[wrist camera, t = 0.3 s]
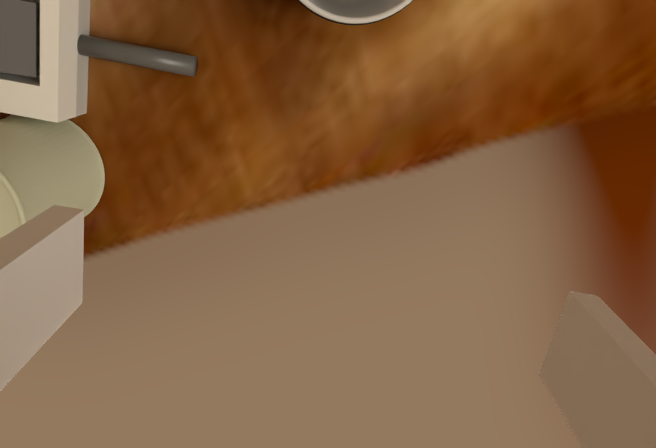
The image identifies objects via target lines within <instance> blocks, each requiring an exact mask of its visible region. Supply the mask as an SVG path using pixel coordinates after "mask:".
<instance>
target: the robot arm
mask: <svg viewBox="0 0 656 448" xmlns="http://www.w3.org/2000/svg"><path fill="white" fill-rule="evenodd" d="M83 240H84V210H83V209H77V208H71V207H65V206H59V205H53V206H52V207H50V208H48V209H47V210H45V211H44V212H42V213H40V214H39V215H37V216H36V217H34V218H32V219H31V220H29V221H28V222H26V223H24V224H23V225H21V226H20V227H18V228H16V229H15V230H13V231H12V232H10V233H8V234H7V235H5V236H4V237H2V238H0V391H1V390H2V389H3V388H4V387H5V386H6V384H8V382H9V381H10V380H11V379H12V378H13V377H14V376H15V375H16V374H17V373H18V371H20V369H21V368H22V367H23V366H24V365H25V364H26V363H27V362H28V361H29V360H30V359H31V358H32V356H33V355H34V354H35V353H36V352H37V351H38V350H39V349H40V348H41V347H42V346H43V345H44V343H45V342H46V341H47V340H48V339H49V338H50V337H51V336H52V335H53V334H54V333H55V332H56V330H57V329H58V328H59V327H60V326H61V325H62V324H63V323H64V322H65V321H66V320H67V318H68V317H69V316H70V315H71V314H72V313H73V312H74V311H75V310H76V309H77V308H78V307H79V305H80V304H81V303H82V291H83V290H82V289H83ZM539 376H540V378H541V379H542V381H543V383H544V384H545V386H546V388H547V390H548V391H549V393H550V395H551V396H552V398H553V399H554V401H555V403H556V404H557V406H558V408H559V410H560V412H561V413H562V415H563V417H564V418H565V420H566V422H567V423H568V425H569V427H570V428H571V430H572V432H573V434H574V435H575V437H576V438H577V440H578V442H579V444H580V445H581V447H582V448H656V355H655V354H654V353H653V352H652V351H651V350H650V349H649V348H648V347H647V346H646V345H645V344H644V343H643V342H642V341H641V339H640V338H639V337H638V336H636V334H635V333H634V332H633V331H632V330H631V329H630V328H629V327H628V326H627V325H626V324H625V323H624V322H623V321H622V320H621V319H620V318H619V317H618V316H617V315H616V314H614V312H613V311H612V310H611V309H610V308H609V307H608V306H607V305H606V304H605V303H604V302H603V301H602V300H601V299H600V298H599V297H598V296H597V295H590V294H585V293H579V292H573V291H570V293H569V296H568V298H567V301H566V303H565V306H564V309H563V311H562V315H561V317H560V319H559V322H558V325H557V327H556V330H555V333H554V335H553V338H552V341H551V343H550V346H549V349H548V352H547V354H546V357H545V360H544V362H543V365H542V368H541V370H540V373H539Z"/></svg>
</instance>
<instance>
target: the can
mask: <svg viewBox="0 0 656 448" xmlns="http://www.w3.org/2000/svg"><path fill="white" fill-rule="evenodd" d="M104 183H105V172H104V166H103V162H102V159H101V156H100V154H99V151H98V149H97V148H96V146H95V144H94V143H93V141H92V140H91V139H90V137H89V136H88V135H87V134H86V133H85V132H84V131H83V130H82V129H81V128H80V127H79V126H77V125H76V124H75V123H73V122H72V121H70V120H68V119H67V120H64V121H61V122H58V123H57V122H51V121H46V120H40V119H35V118H30V117H24V116H19V115H13V114H12V115H10V116H8V117H6V118H4V119H0V238H2V237H4V236H5V235H7V234H8V233H10V232H12V231H13V230H15V229H16V228H18V227H20V226H21V225H23V224H24V223H26V222H28V221H29V220H31V219H32V218H34V217H36V216H37V215H39V214H40V213H42V212H44V211H45V210H47V209H48V208H50V207H52V206H53V205H59V206H65V207H71V208H77V209H83V210H84V217H85V216H87V215H88V214H89V213H90V212H91V211H92V210H93V209H94V208H95V206H96V205H97V204H98V202H99V200H100V198H101V196H102V193H103V189H104Z"/></svg>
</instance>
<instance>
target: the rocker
mask: <svg viewBox="0 0 656 448" xmlns="http://www.w3.org/2000/svg"><path fill="white" fill-rule="evenodd" d="M0 72H3V73H10V74H17V75H24V76H32V77H37V76H38V75H40V3H39V2H34V1H28V0H0Z"/></svg>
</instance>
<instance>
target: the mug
mask: <svg viewBox="0 0 656 448" xmlns="http://www.w3.org/2000/svg"><path fill="white" fill-rule="evenodd" d="M298 1H299V2H300V3H301V4H302V5H303V6H304V7H306V8H307V9H308V10H310V11H311V12H313V13H314V14H316V15H318V16H319V17H321V18H324V19H326V20H328V21H331V22H335V23H339V24H344V25H365V24H371V23H375V22H378V21H381V20H384V19H386V18H388V17H390V16H392V15H394V14H396V13H398V12H399V11H401V10H402V9H403V8H405V7H406V6H407V5H408V4H410V3H411V2H412V1H413V0H298Z"/></svg>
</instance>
